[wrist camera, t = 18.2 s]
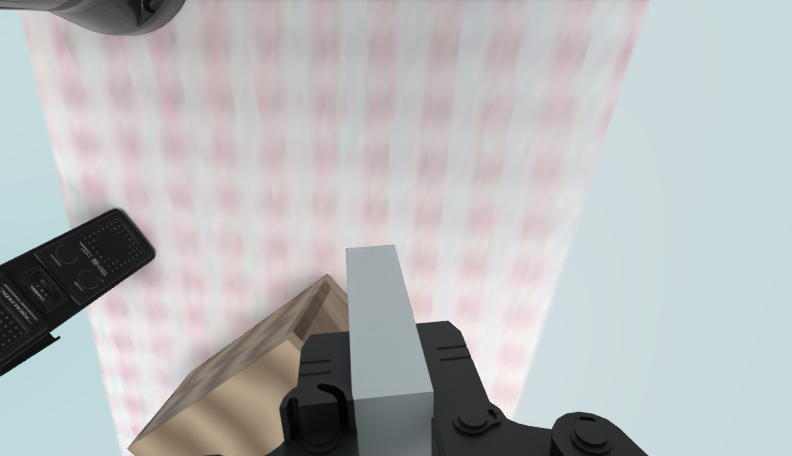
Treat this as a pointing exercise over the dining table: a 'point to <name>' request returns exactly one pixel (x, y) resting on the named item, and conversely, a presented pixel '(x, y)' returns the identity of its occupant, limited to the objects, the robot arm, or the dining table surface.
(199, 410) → the wooden cabinet
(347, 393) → the robot arm
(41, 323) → the portable radio
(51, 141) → the dining table surface
